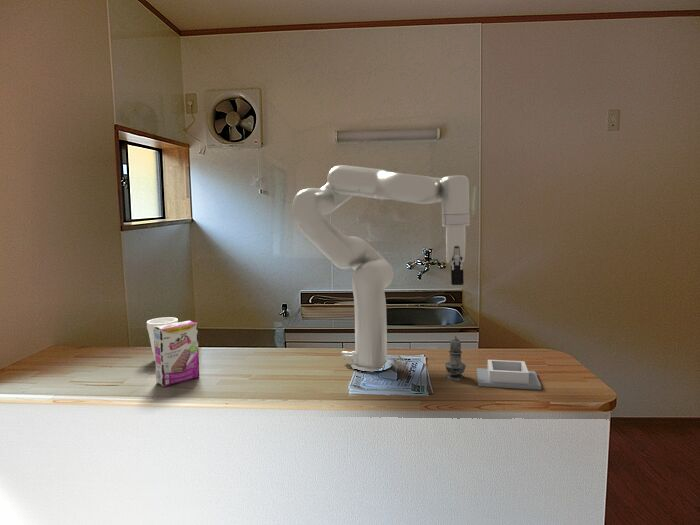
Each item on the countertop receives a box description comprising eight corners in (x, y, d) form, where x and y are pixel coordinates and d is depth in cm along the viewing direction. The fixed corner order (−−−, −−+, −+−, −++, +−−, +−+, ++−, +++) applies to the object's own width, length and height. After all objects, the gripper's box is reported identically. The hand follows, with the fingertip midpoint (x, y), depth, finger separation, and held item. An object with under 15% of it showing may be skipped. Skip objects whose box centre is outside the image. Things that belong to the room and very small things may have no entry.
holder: (477, 386, 137) (478, 371, 136) (476, 371, 149) (476, 358, 148) (541, 389, 133) (541, 374, 133) (534, 374, 145) (535, 360, 145)
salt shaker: (466, 381, 141) (466, 339, 139) (444, 380, 142) (444, 338, 140) (465, 374, 146) (466, 333, 145) (444, 373, 147) (445, 332, 146)
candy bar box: (163, 388, 140) (159, 329, 138) (155, 383, 144) (152, 326, 142) (201, 377, 148) (198, 322, 146) (192, 373, 151) (189, 319, 149)
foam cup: (142, 362, 163) (140, 322, 161) (163, 354, 171) (161, 316, 170) (166, 365, 159) (163, 324, 158) (186, 357, 168) (184, 318, 166)
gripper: (442, 220, 151) (444, 277, 152) (441, 222, 134) (443, 287, 136) (468, 219, 149) (469, 277, 151) (470, 221, 132) (472, 286, 134)
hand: (457, 282), depth 143 cm, fingers open, 9 cm apart
